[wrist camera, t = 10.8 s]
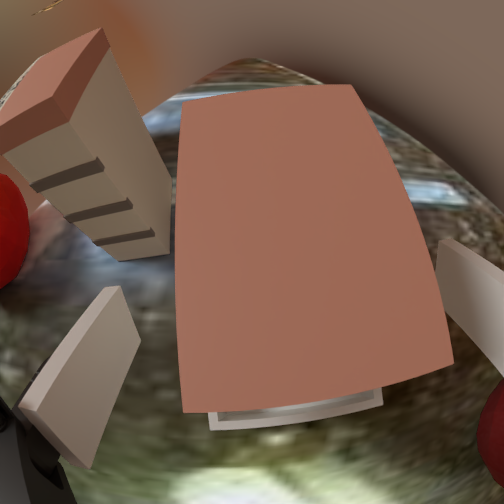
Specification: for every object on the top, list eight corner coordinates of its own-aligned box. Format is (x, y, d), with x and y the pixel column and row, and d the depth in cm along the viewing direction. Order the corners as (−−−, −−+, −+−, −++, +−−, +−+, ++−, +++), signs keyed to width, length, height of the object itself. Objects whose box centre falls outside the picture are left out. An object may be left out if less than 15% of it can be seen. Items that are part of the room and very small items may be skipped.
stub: (254, 383, 17) (183, 412, 4) (243, 276, 20) (182, 102, 7) (327, 372, 17) (453, 363, 4) (310, 267, 19) (350, 84, 7)
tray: (220, 421, 16) (210, 430, 14) (206, 250, 21) (196, 231, 18) (367, 400, 16) (383, 404, 13) (336, 233, 21) (344, 211, 18)
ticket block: (117, 262, 22) (-17, 137, 8) (125, 189, 24) (39, 57, 11) (170, 255, 21) (51, 97, 8) (172, 179, 24) (102, 26, 11)
